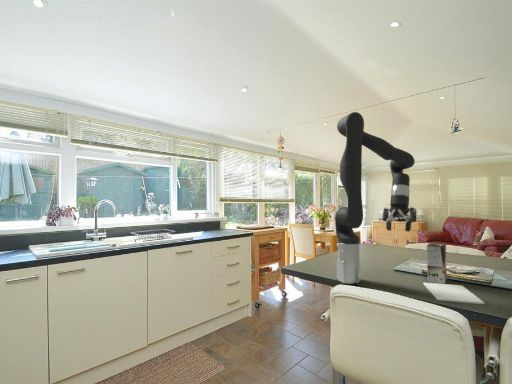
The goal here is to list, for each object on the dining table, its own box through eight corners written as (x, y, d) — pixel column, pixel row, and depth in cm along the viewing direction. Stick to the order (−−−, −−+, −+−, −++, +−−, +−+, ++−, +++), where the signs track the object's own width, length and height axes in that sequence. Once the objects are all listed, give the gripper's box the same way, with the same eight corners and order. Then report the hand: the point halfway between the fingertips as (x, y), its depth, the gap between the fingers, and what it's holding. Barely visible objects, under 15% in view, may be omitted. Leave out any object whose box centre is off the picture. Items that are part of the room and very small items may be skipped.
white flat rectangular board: (423, 283, 114) (423, 282, 114) (461, 286, 109) (461, 285, 110) (437, 300, 97) (437, 298, 97) (484, 304, 92) (484, 302, 92)
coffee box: (445, 285, 112) (444, 247, 112) (427, 282, 116) (426, 245, 116) (446, 279, 119) (446, 243, 119) (430, 276, 123) (429, 242, 123)
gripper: (380, 195, 127) (378, 228, 123) (411, 192, 114) (409, 230, 111) (390, 198, 130) (387, 231, 127) (420, 196, 118) (418, 233, 115)
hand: (397, 230), depth 119 cm, fingers open, 8 cm apart
